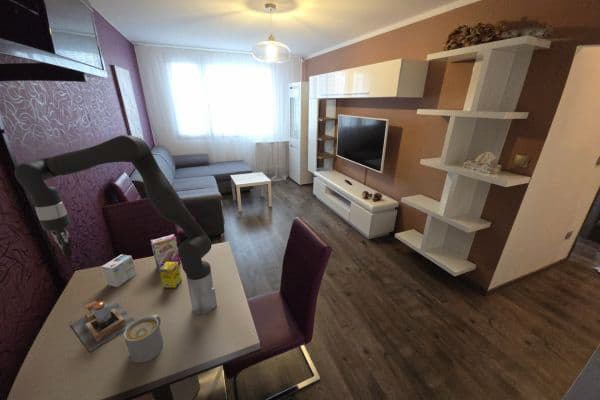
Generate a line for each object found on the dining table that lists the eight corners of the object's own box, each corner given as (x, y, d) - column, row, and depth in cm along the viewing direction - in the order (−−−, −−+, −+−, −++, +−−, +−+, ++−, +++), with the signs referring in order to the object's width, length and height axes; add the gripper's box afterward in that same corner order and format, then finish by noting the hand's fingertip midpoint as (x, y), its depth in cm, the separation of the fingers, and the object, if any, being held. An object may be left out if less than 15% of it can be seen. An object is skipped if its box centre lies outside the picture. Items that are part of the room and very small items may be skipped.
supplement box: (176, 288, 115) (172, 269, 111) (163, 288, 115) (159, 269, 111) (182, 280, 121) (178, 261, 117) (170, 280, 121) (166, 261, 117)
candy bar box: (158, 272, 127) (151, 244, 121) (156, 267, 130) (149, 240, 124) (181, 263, 133) (176, 237, 127) (178, 259, 137) (173, 233, 131)
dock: (136, 322, 97) (134, 314, 96) (90, 352, 86) (86, 342, 84) (114, 301, 108) (111, 293, 106) (70, 324, 96) (66, 316, 94)
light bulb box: (126, 271, 127) (121, 253, 123) (137, 273, 125) (132, 255, 121) (106, 285, 117) (100, 266, 113) (118, 287, 116) (111, 268, 112)
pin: (109, 320, 97) (106, 312, 95) (99, 326, 94) (96, 317, 93) (98, 308, 102) (95, 300, 101) (88, 313, 100) (85, 305, 98)
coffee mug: (148, 365, 81) (141, 343, 78) (123, 358, 83) (116, 337, 80) (176, 331, 93) (171, 311, 90) (154, 326, 96) (148, 306, 92)
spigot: (116, 326, 95) (108, 302, 91) (103, 334, 92) (94, 310, 88) (111, 320, 97) (103, 297, 93) (98, 328, 94) (89, 305, 90)
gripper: (72, 216, 89) (86, 256, 96) (60, 207, 96) (75, 246, 103) (44, 223, 84) (61, 266, 90) (34, 214, 91) (50, 254, 97)
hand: (68, 255), depth 96 cm, fingers closed
